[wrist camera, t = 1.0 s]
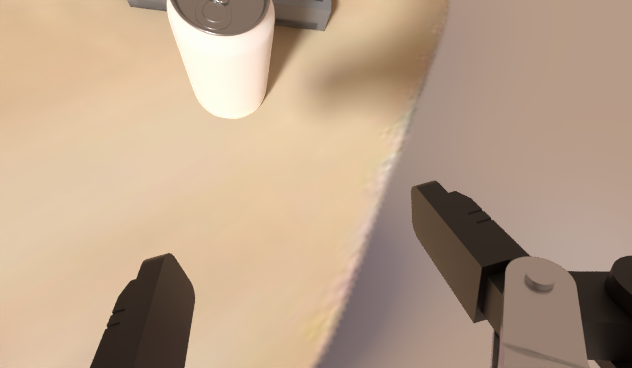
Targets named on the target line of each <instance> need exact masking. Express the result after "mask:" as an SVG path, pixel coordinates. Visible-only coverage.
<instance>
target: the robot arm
mask: <svg viewBox="0 0 632 368" xmlns="http://www.w3.org/2000/svg"><path fill="white" fill-rule="evenodd" d="M411 200H412V222H413V228H414V231H415V233H416V236H417V238H418V239H419V241H420V242H421V244H422V246H423V247H424V249H425V250H426V252H427V253H428V255H429V256H430V258H431V259H432V261H433V262H434V264H435V265H436V267H437V268H438V270H439V271H440V273H441V274H442V276H443V277H444V279H445V280H446V282H447V283H448V285H449V286H450V288H451V289H452V291H453V292H454V294H455V295H456V297H457V298H458V300H459V301H460V303H461V304H462V306H463V307H464V309H465V310H466V312H467V313H468V315H469V317H470V318H471V320H472V321H473V323H476V322H479V321H483V320H486V319H487V320H488V322H489V323H490V324H491V326H492V327H493V336H492V351H491V366H490V368H589V365H588V361H587V360H595V361H596V363H597V364H598V365H599V366H600V367H601V368H632V256H625V257H622V258H620V259H618V260H616V261H615V262H614V264H613V266H612V268H611V270H610V272H574V271H566V270H565V269H564V268H562V267H561V266H559V265H558V264H556V263H554V262H552V261H549V260H546V259H543V258H539V257H531V256H529V254H527V253H526V252H525V251H524V250H523V249H522V248H521V247H520V246H519V245H518V244H517V243H516V242H515V241H514V240H513V239H512V238H511V237H510V236H509V235H508V234H507V233H506V232H505V231H504V230H503V229H502V228H501V227H500V226H499V225H498V224H497V223H496V222H495V221H494V220H491V217H489V215H487V214H486V213H485V212H484V211H482V209H481V208H480V207H479V206H478V205H477V204H476V203H475V202H474V201H473V200H472V199H471V198H469V197H467V196H465V195H462V194H461V193H459V192H457V191H454V192H450V193H448V192H447V191H446V190H445V189H444V188H443V187H442V186H441V185H440V184H439V183H438V182H437V181H431V182H427V183H424V184H420V185H417V186H414V187H412V190H411ZM194 304H195V293H194V289H193V286H192V283H191V282H190V280H189V279H188V277H187V275H186V274H185V272H184V271H183V269H182V268H181V266H180V265H179V263H178V262H177V260H176V258H175V257H174V256H173V255H172V254H170V253H168V254H164V255H160V256H157V257H153V258H150V259H146V260H144V261H143V263H142V265H141V268H140V270H139V273H138V276H137V279H135V280H131V281H130V282H129V284H128V285H127V286H126V287H125V289H124V290H123V291H122V293H121V294H120V295H119V297H118V299H117V302H116V304H115V307H114V309H113V312H112V313H113V315H111V317H110V319H109V322H108V324H107V329H105V332H104V334H103V336H102V339H101V341H100V344H99V346H98V349H97V351H96V354H95V356H94V359H93V361H92V364H91V366H90V368H184V367H185V361H186V354H187V348H188V342H189V335H190V329H191V323H192V316H193V310H194Z"/></svg>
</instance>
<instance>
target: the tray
mask: <svg viewBox="0 0 632 368" xmlns="http://www.w3.org/2000/svg"><path fill="white" fill-rule="evenodd" d="M127 1H128V3H129V5H130V7H138V8H146V9H154V10H162V11H167V0H127ZM272 2H273V6H274V12H275V23H274V25H281V26H289V27H297V28H304V29H312V30H320V31H324V30H325V27H326V24H327V22H328V19H329V16H330V14H331V11H332V9H331V0H272Z"/></svg>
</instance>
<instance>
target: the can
mask: <svg viewBox="0 0 632 368" xmlns="http://www.w3.org/2000/svg"><path fill="white" fill-rule="evenodd" d="M167 13H168V18H169V21H170V25H171V28H172V31H173V34H174V37H175V40H176V42H177V45H178V48H179V51H180V54H181V57H182V60H183V62H184V65H185V68H186V71H187V74H188V77H189V79H190V82H191V85H192V88H193V90H194V93H195V95H196V97H197V99H198V101H199V102H200V104H201V105H202V106H203V107H204V108H205V109H206V110H207V111H209V112H210V113H212V114H213V115H216V116H219V117H223V118H233V119H234V118H241V117H245V116H247V115H249V114H251V113H253V112H254V111H255V110H256V109H257V108H258V107H259V106H260V105H261V103H262V101H263V99H264V97H265V93H266V87H267V80H268V73H269V65H270V57H271V49H272V41H273V33H274V23H275V12H274V6H273V2H272V0H167Z"/></svg>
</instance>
